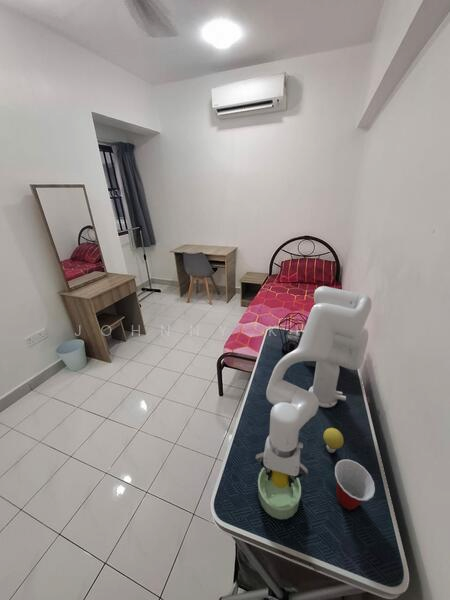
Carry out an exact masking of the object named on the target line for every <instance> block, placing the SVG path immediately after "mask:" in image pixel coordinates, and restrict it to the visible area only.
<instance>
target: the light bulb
mask: <svg viewBox="0 0 450 600" xmlns="http://www.w3.org/2000/svg"><path fill="white" fill-rule="evenodd" d="M322 436H323V438H322V439H323V440H324V443H325V444H326V450H327V451H328V452H329V453H331V454H333V453H335V452H336V450H338V449H340V448H342V447H343V445H344V440H345V439H344V437H343V434H342V433H341V431H340V430H339V429H337V428H334V427H329V428H326V429H325V430H324V431H323V435H322Z"/></svg>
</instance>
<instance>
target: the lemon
mask: <svg viewBox="0 0 450 600" xmlns="http://www.w3.org/2000/svg"><path fill="white" fill-rule="evenodd" d="M271 480H272V482H273V484H274V485H275V486H276V487H277V488H285V487H286V486H287V485H288V483H289V475H288V474H285V473H281V472H278V471H275V470H272V471H271Z"/></svg>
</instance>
